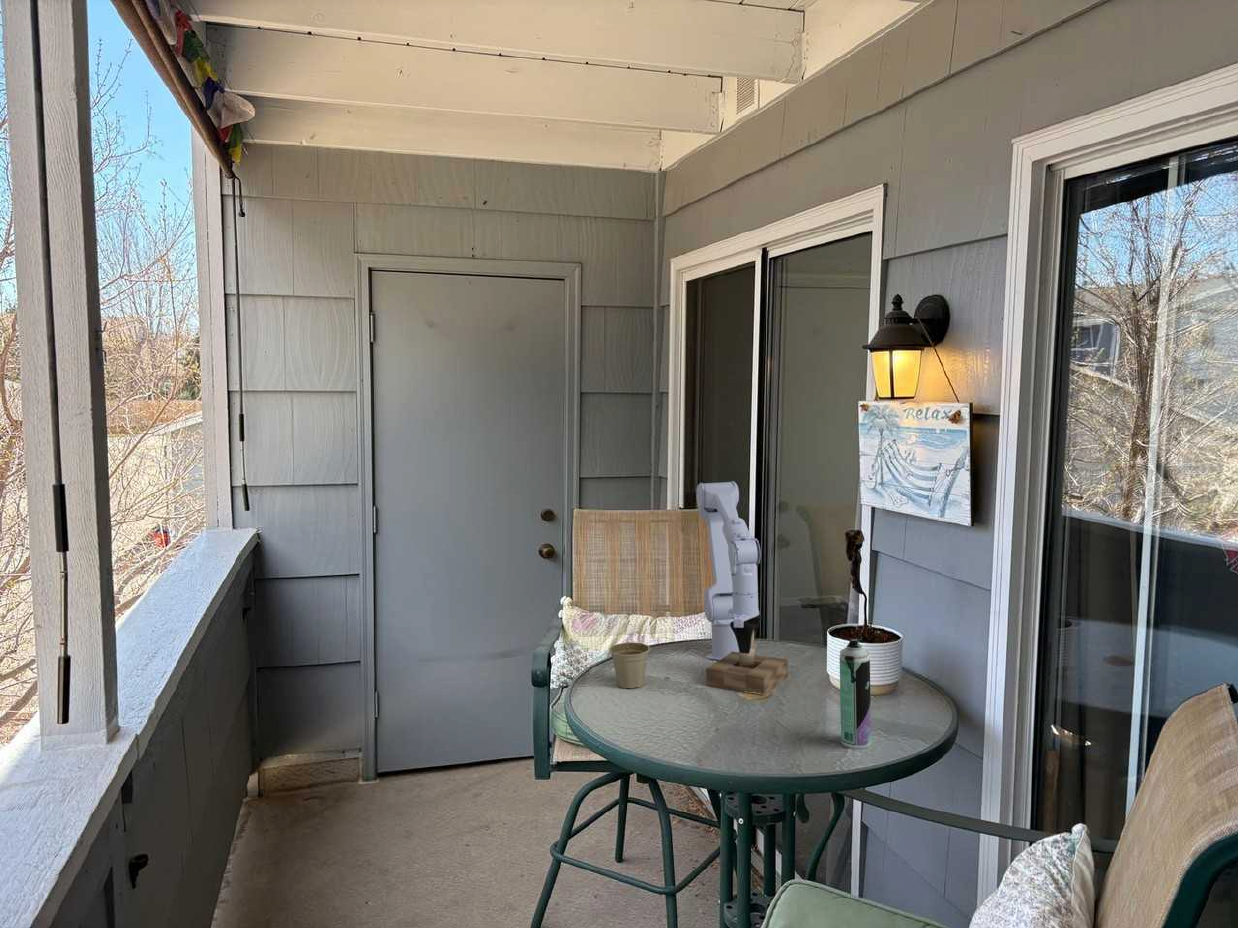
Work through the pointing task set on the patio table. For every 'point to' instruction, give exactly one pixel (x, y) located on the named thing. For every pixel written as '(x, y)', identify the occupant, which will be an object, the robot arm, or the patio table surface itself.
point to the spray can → (855, 696)
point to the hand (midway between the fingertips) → (746, 649)
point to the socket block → (747, 673)
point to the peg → (748, 655)
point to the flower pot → (630, 663)
